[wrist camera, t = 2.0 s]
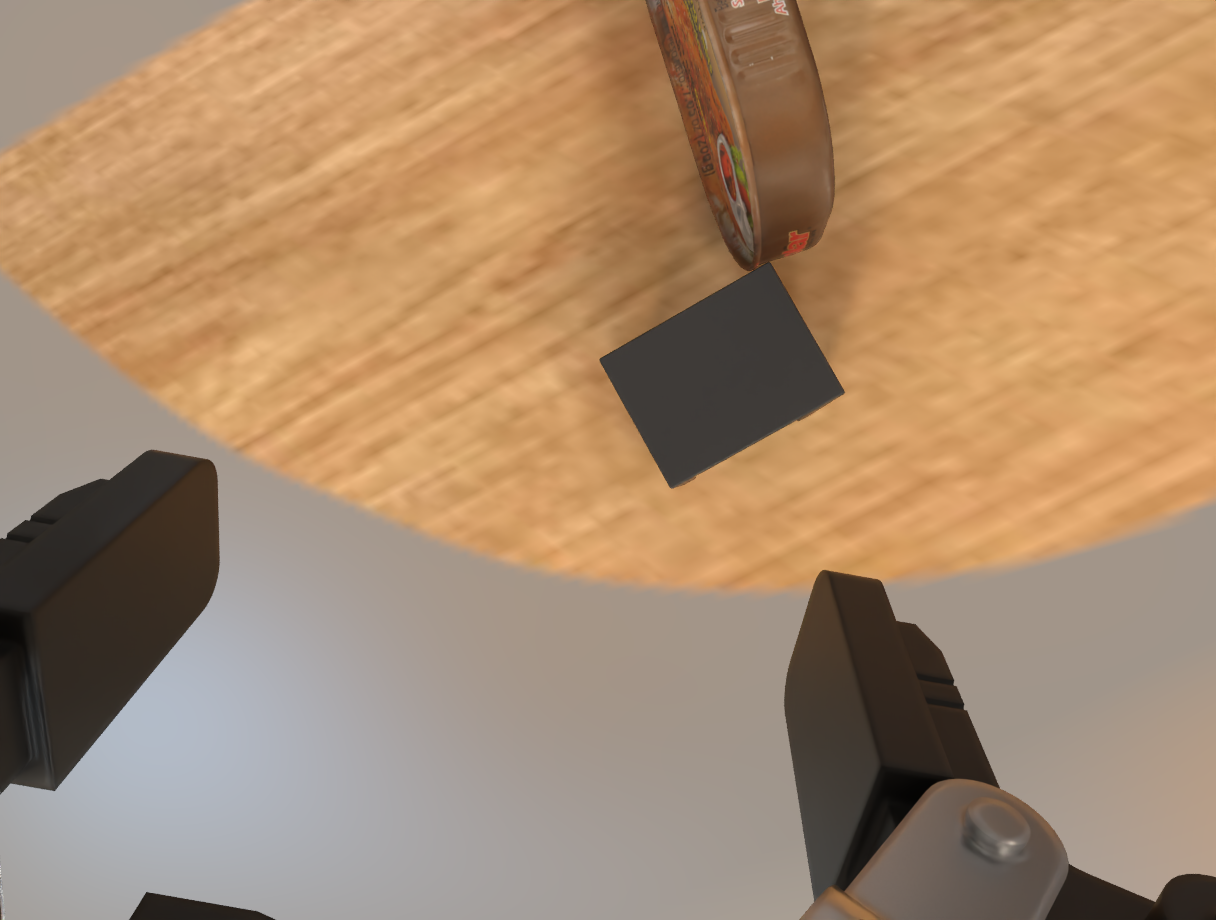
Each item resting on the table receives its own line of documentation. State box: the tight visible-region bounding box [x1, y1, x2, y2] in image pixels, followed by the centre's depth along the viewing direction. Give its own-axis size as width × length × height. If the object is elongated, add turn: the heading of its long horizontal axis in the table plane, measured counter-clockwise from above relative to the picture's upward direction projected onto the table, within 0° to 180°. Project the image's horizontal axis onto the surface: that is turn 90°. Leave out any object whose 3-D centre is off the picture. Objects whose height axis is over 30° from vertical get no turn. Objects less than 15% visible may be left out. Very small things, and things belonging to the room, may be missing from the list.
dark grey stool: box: [599, 262, 845, 489], centre depth 28 cm, size 5×4×8 cm
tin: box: [646, 0, 835, 271], centre depth 28 cm, size 15×3×8 cm, turn 16°
